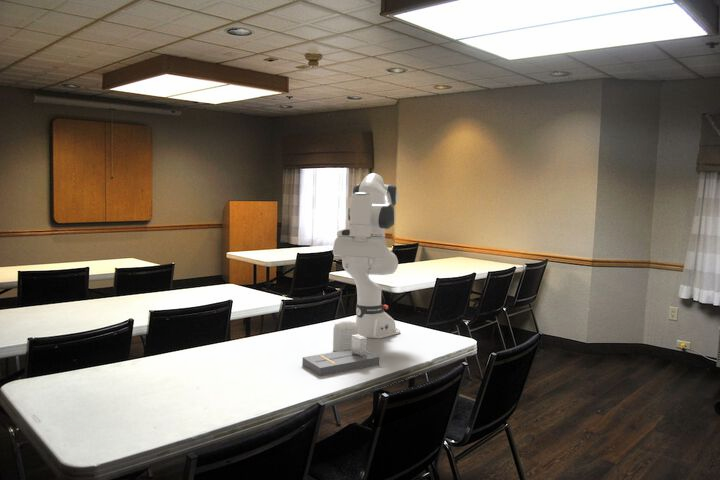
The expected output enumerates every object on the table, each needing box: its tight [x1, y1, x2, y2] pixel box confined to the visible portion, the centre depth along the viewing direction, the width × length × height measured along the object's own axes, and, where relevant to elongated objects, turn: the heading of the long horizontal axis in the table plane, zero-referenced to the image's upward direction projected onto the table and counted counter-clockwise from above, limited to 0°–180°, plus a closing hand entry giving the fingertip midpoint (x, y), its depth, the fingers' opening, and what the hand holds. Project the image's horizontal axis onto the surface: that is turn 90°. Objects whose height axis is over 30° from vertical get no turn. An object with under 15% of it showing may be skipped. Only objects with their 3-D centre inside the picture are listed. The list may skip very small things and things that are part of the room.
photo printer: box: [332, 320, 358, 352], centre depth 225 cm, size 10×4×12 cm, turn 98°
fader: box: [351, 334, 368, 356], centre depth 211 cm, size 3×6×7 cm, turn 33°
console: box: [301, 349, 381, 377], centre depth 207 cm, size 26×14×3 cm, turn 123°
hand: (358, 268), depth 209 cm, fingers open, 8 cm apart
